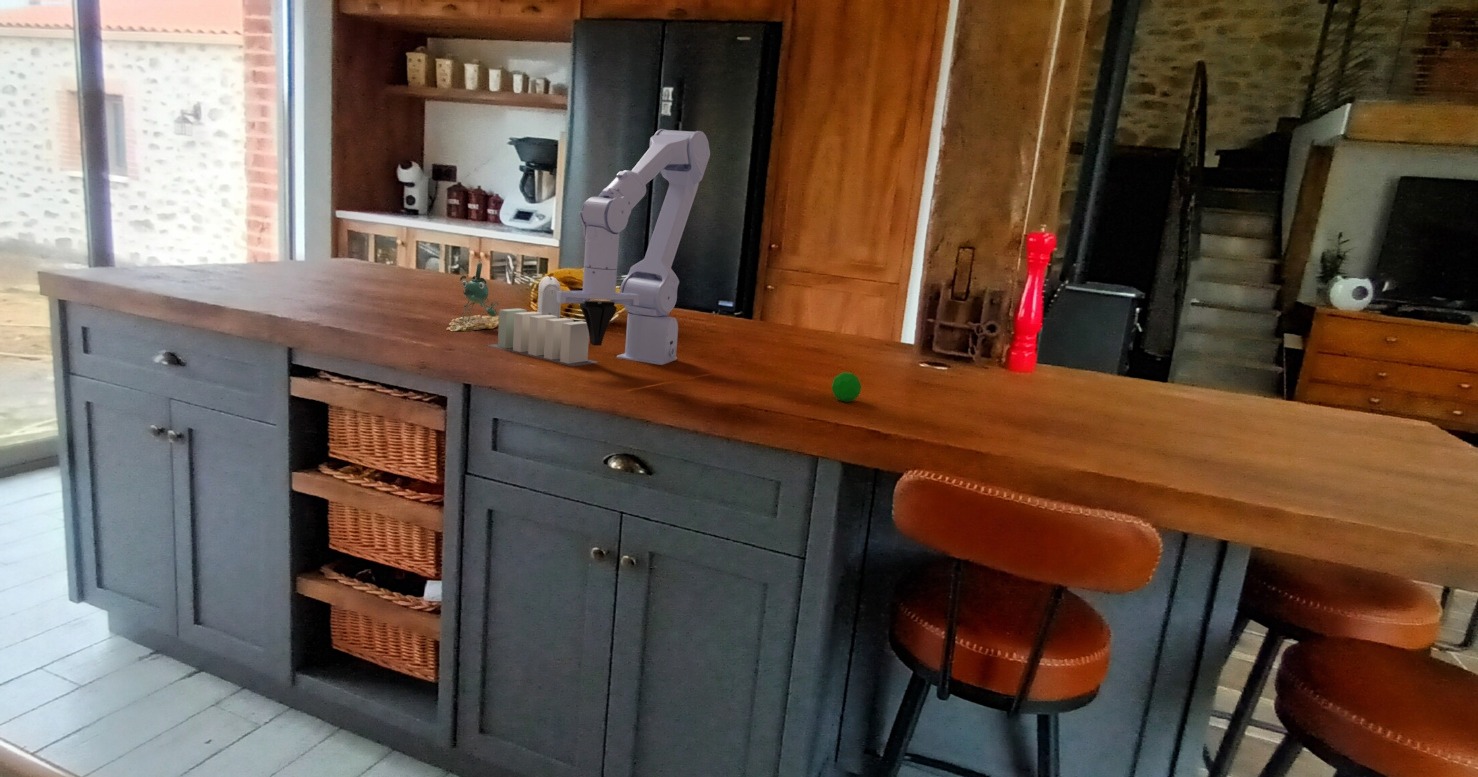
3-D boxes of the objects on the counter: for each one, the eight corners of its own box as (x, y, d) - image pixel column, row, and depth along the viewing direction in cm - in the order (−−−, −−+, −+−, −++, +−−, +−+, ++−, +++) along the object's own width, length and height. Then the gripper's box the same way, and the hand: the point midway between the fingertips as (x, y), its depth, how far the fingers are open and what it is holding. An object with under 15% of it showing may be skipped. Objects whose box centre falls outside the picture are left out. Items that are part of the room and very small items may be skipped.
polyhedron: (836, 403, 146) (839, 375, 145) (825, 396, 150) (829, 369, 149) (863, 404, 147) (867, 377, 146) (852, 397, 152) (856, 371, 151)
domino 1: (540, 349, 165) (541, 313, 164) (520, 352, 161) (522, 314, 160) (532, 347, 166) (534, 311, 165) (512, 350, 162) (514, 313, 161)
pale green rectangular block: (525, 346, 167) (526, 309, 166) (505, 348, 163) (506, 311, 162) (517, 344, 168) (519, 308, 167) (497, 346, 164) (499, 309, 163)
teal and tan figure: (524, 327, 191) (523, 260, 187) (466, 344, 176) (464, 272, 171) (490, 320, 195) (488, 254, 190) (430, 336, 180) (427, 265, 175)
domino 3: (571, 357, 161) (573, 319, 160) (551, 359, 157) (554, 321, 156) (563, 355, 162) (565, 317, 161) (543, 357, 158) (545, 319, 157)
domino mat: (599, 363, 159) (599, 362, 159) (572, 367, 153) (572, 366, 153) (514, 343, 170) (514, 342, 170) (486, 346, 164) (486, 345, 164)
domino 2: (555, 353, 163) (557, 316, 162) (536, 355, 159) (537, 317, 158) (547, 351, 164) (549, 314, 163) (528, 353, 160) (529, 316, 159)
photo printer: (560, 340, 179) (563, 280, 177) (539, 339, 178) (542, 278, 175) (555, 331, 189) (558, 274, 186) (535, 330, 187) (538, 273, 185)
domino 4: (587, 360, 159) (589, 322, 158) (568, 363, 155) (570, 324, 153) (579, 358, 160) (581, 321, 159) (560, 361, 156) (562, 323, 154)
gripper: (630, 267, 158) (625, 340, 161) (552, 263, 151) (548, 340, 154) (646, 271, 152) (640, 347, 155) (566, 267, 145) (561, 347, 148)
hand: (595, 344), depth 154 cm, fingers closed
